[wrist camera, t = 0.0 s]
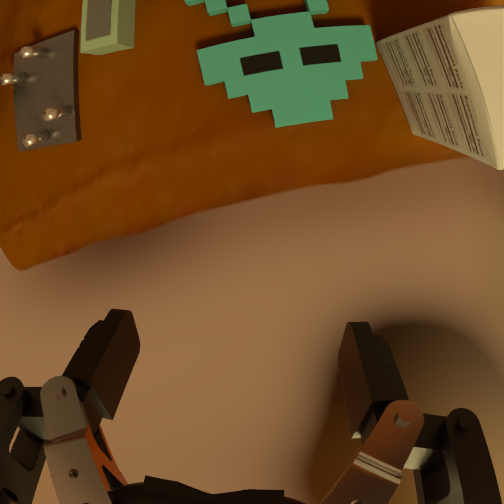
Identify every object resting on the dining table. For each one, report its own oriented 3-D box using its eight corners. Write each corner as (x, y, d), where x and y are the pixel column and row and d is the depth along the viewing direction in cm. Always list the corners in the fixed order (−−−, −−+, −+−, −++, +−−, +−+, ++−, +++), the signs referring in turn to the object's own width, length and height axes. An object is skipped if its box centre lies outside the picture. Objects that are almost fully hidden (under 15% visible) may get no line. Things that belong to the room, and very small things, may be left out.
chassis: (19, 53, 29) (-4, 54, 24) (78, 31, 28) (57, 26, 24) (23, 150, 36) (1, 158, 32) (81, 139, 36) (60, 147, 31)
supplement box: (468, 17, 24) (557, 3, 8) (500, 103, 29) (590, 128, 14) (371, 40, 29) (447, 9, 13) (411, 136, 34) (499, 175, 18)
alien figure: (186, -7, 27) (221, 136, 36) (181, -12, 25) (218, 139, 34) (347, -31, 24) (380, 112, 33) (351, -37, 22) (386, 113, 31)
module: (102, -3, 26) (82, -12, 21) (136, -12, 26) (119, -23, 21) (100, 55, 30) (79, 52, 26) (134, 47, 30) (115, 43, 25)
